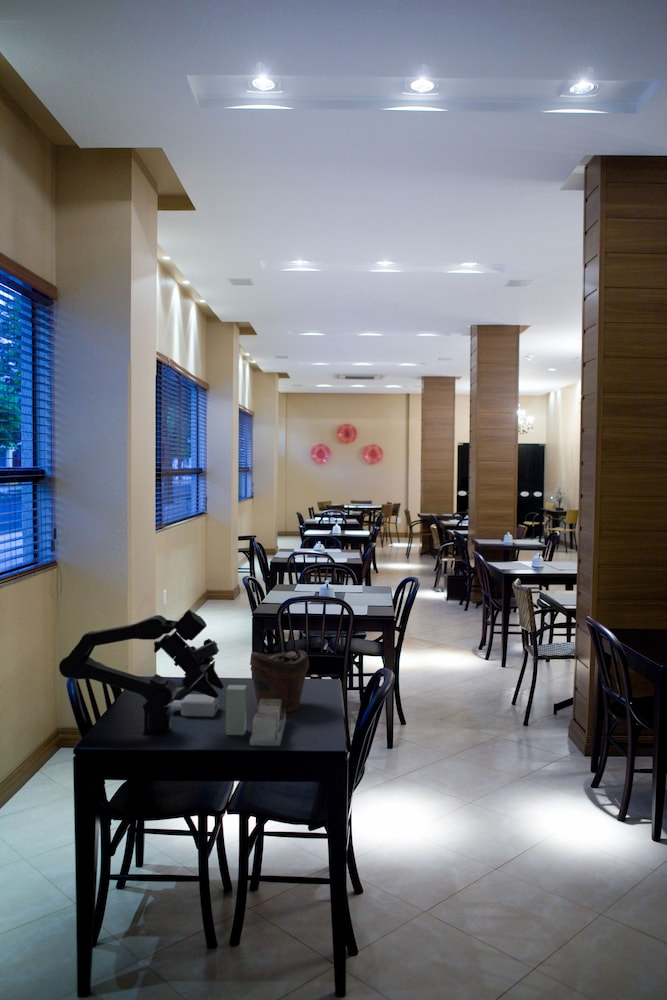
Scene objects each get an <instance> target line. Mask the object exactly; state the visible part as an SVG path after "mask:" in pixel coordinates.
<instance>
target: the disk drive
mask: <svg viewBox="0 0 667 1000" xmlns="http://www.w3.org/2000/svg"><path fill="white" fill-rule="evenodd" d="M173 682H174V683H175V686H176V688H177V693H176V695H175V697H174V698H173V699H172V701H171V702H173V701H174V700H179V698H181V697H183V696H184V695H186V694H188V692H191V691H192V690H190V688H191V686H192V685H191V686H190V687H189V688H188V689H186V688H185V687H184V686H183V685H182V681H173Z"/></svg>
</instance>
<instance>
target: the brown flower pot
mask: <svg viewBox="0 0 667 1000" xmlns="http://www.w3.org/2000/svg"><path fill="white" fill-rule="evenodd" d="M309 661H310V660H309V655H308V653H307V652H306V651H305V650H302V649H296V648H291V649H288V650H287V651H284V652H283V651H282V652H278V653H259V652H255V651H251V653H250V663H249V665H250V666H251V667H250V671H251V676H252V684H253V687H254V695H255V698H256V699H255V700H256V705H257V706H258V705H259V702H260V700H261V699H282V703H281V713H282V712H283V709H286V713H288V712H294V711H296V710H297V709H299V708H300V706H301V705H300V704H301V699H302V694H303V690H304V685H305V681H306V680H305V679H306V675H307V671H308V670H309V668H310V662H309Z"/></svg>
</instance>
